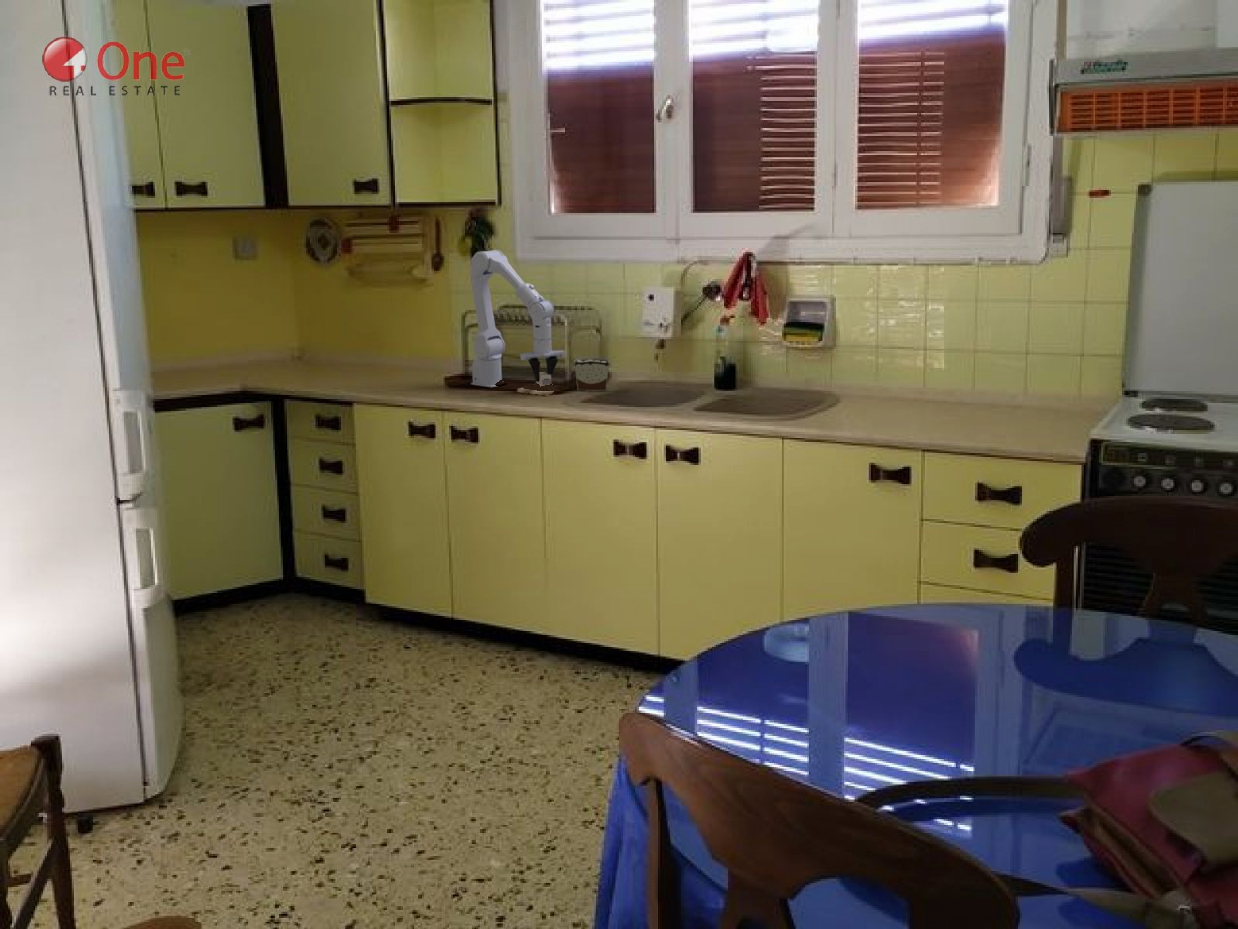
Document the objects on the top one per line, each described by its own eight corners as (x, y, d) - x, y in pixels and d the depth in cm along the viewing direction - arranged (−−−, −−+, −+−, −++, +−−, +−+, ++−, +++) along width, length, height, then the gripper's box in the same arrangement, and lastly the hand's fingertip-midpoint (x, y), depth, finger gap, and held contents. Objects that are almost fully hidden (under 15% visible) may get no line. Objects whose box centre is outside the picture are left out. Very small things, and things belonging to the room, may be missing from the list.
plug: (534, 385, 382) (534, 372, 381) (545, 384, 384) (544, 372, 383) (542, 389, 376) (542, 376, 374) (553, 388, 377) (553, 375, 376)
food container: (612, 387, 386) (612, 357, 383) (610, 390, 380) (610, 360, 377) (575, 386, 387) (575, 356, 384) (573, 390, 381) (572, 359, 378)
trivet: (517, 391, 379) (517, 388, 379) (541, 385, 388) (541, 382, 388) (546, 396, 372) (546, 392, 372) (569, 389, 381) (569, 386, 381)
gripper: (525, 342, 369) (526, 384, 373) (568, 338, 375) (568, 380, 379) (517, 338, 376) (519, 380, 379) (560, 335, 381) (560, 377, 385)
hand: (543, 380), depth 379 cm, fingers closed on plug, 3 cm apart
